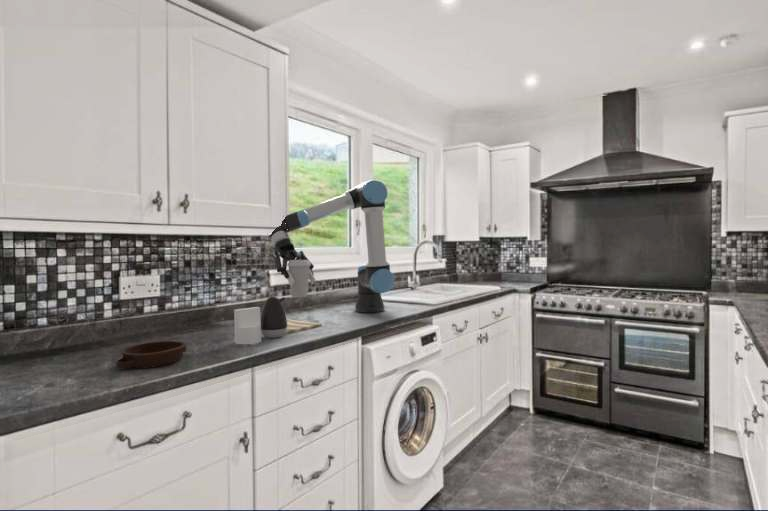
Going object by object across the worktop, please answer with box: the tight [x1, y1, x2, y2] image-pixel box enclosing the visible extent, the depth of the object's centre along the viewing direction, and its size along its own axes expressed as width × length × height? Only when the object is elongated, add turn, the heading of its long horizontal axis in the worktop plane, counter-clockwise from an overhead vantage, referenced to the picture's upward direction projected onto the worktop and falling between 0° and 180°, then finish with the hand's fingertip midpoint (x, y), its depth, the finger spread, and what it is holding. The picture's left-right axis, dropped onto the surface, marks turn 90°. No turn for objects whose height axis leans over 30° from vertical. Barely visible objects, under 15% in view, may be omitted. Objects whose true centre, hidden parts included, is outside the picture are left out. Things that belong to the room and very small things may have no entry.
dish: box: [115, 340, 188, 369], centre depth 135 cm, size 18×22×5 cm
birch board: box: [284, 319, 323, 335], centre depth 189 cm, size 20×20×1 cm
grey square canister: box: [233, 306, 262, 345], centre depth 162 cm, size 9×9×12 cm
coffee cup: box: [287, 259, 311, 298], centre depth 188 cm, size 10×10×15 cm
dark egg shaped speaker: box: [260, 296, 288, 339], centre depth 170 cm, size 10×10×15 cm
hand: (303, 282), depth 186 cm, fingers closed on coffee cup, 9 cm apart
